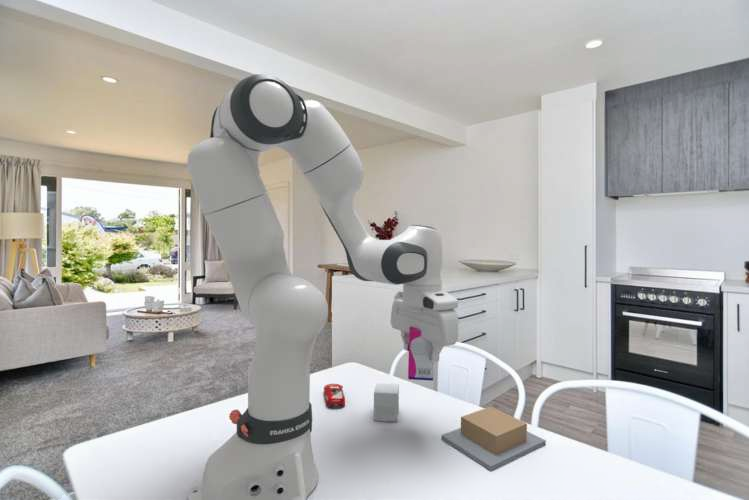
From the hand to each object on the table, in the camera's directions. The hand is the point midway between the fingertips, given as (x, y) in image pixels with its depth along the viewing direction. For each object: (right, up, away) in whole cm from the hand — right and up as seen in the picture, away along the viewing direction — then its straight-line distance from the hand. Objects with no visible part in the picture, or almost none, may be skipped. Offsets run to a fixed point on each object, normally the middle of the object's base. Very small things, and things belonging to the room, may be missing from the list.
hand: (420, 355), depth 91 cm
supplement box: (0, -5, 0) cm, 5 cm away
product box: (-8, -18, +9) cm, 22 cm away
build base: (+16, -19, -3) cm, 25 cm away
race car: (-22, -18, +19) cm, 34 cm away
